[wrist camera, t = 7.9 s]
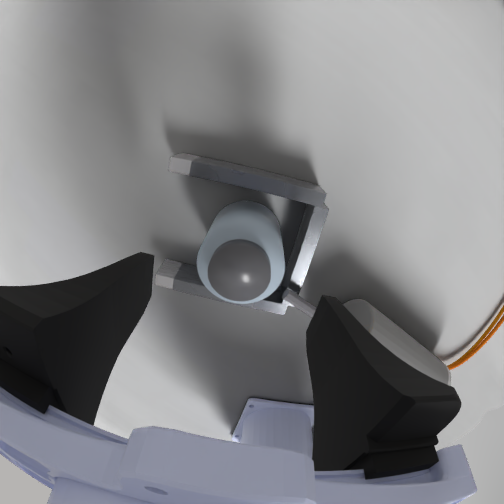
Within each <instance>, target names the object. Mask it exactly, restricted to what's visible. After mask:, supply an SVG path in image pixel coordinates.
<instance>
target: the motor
mask: <svg viewBox="0 0 504 504" xmlns="http://www.w3.org/2000/svg"><path fill="white" fill-rule="evenodd" d="M282 298H283V299H284V300H285V301H287V302H289V303H290V304H292V305H293V306H295V307H296V308H298V309H299V310H301V311H302V312H304V313H306V314H307V315H309V316H310V317H312V318H313V315H314V313H315V311H316V307H315V306H313V305H312V304H310V303H309V302H307V301H306V300H304V299H303V298H301V297H300V296H298V295H297V294H295V293H294V292H292V291H291V290H289V289H287V290H285V291H284V293H283V295H282ZM343 305H344V306H345V307H346V308H347V309H348V311H349V312H350V313H351V314H352V315H353V316H354V317H355V318H356V319H357V320H358V321H359V322H360V323H361V324H362V326H363V327H364V328H365V329H366V330H367V331H368V332H369V333H370V334H371V335H372V336H374V337H375V338H376V339H377V340H378V341H379V342H380V343H381V344H382V345H383V346H385V347H386V348H387V349H388V350H389V351H391V352H392V353H393V354H394V355H396V356H397V357H399V358H400V359H401V360H403V361H404V362H406V363H407V364H409V365H410V366H412V367H413V368H415V369H417V370H418V371H420V372H422V373H424V374H426V375H427V376H429V377H431V378H433V379H435V380H438V381H440V382H442V383H445V384H447V385H449V386H450V385H451V373H450V370H451V369H454V368H456V367H458V366H459V365H461V364H463V363H464V362H465V361H467V360H468V359H469V358H471V357H472V356H473V355H474V354H475V353H476V352H477V351H478V350H479V349H480V348H481V347H482V346H483V345H484V344H485V343H486V342H487V341H488V340H489V339H490V338H491V337H492V335H493V334H494V333H495V332H496V331H497V329H498V328H499V327H500V325H501V324H502V323H503V321H504V315H503V317H502V318H501V319H500V321H499V322H498V323H497V325H496V326H495V327H494V325H495V324H496V322H497V321H498V320H499V318H500V317H501V315H502V314H503V312H504V306H503V307H502V309H501V310H500V312H499V313H498V315H497V316H496V318H495V319H494V321H493V322H492V323H491V325H490V326H489V327H488V329H487V330H486V331H485V333H484V334H483V335H482V336H481V338H480V339H479V340H478V341H477V342H476V343H475V344H474V345H473V346H472V347H471V348H470V349H469V350H468V351H467V352H466V353H465V354H464V355H463V356H462V357H461V358H459V359H458V360H457V361H455V362H454V363H452V364H450V365H448V366H446V365H445V364H444V363H443V362H442V361H440V360H439V359H438V358H437V357H436V356H434V355H433V354H432V353H431V352H429V351H428V350H427V349H426V348H425V347H423V346H422V345H421V344H420V343H418V342H417V341H416V340H415V339H414V338H412V337H411V336H410V335H409V334H407V333H406V332H405V331H404V330H402V329H401V328H400V327H399V326H397V325H396V324H395V323H394V322H392V321H391V320H390V319H389V318H387V317H386V316H385V315H384V314H382V313H381V312H380V311H379V310H377V309H376V308H375V307H373V306H372V305H371V304H370V303H368V302H367V301H365V300H363V299H353V300H350V301H348V302H346V303H344V304H343ZM493 327H494V329H493V330H492V331H491V329H492V328H493ZM490 331H491V332H490ZM489 332H490V333H489ZM488 333H489V335H488V336H487V334H488ZM486 336H487V337H486ZM485 337H486V338H485ZM484 338H485V339H484ZM483 339H484V340H483ZM482 340H483V341H482Z"/></svg>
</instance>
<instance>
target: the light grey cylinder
mask: <svg viewBox="0 0 504 504" xmlns="http://www.w3.org/2000/svg"><path fill="white" fill-rule="evenodd" d="M197 270H198V274H199V277H200V279H201V281H202V282H203V284H204V285H205V287H206V288H207V289H208V290H209V291H210V292H211V293H212V294H214V295H215V296H217V297H219V298H220V299H223V300H225V301H228V302H231V303H237V304H248V303H254V302H257V301H260V300H263V299H264V298H266V297H268V296H269V295H271V294H272V293H273V292H274V291H275V290H276V289H277V288H278V286H279V285H280V283H281V281H282V279H283V276H284V272H285V260H284V252H283V244H282V236H281V229H280V225H279V222H278V220H277V218H276V216H275V215H274V214H273V212H272V211H271V210H269V209H268V208H267V207H265V206H264V205H262V204H260V203H257V202H253V201H238V202H234V203H231V204H229V205H227V206H226V207H224V208H223V209H222V210H221V211H220V212H219V213H218V215H217V216H216V218H215V220H214V222H213V223H212V225H211V227H210V229H209V231H208V233H207V235H206V237H205V239H204V241H203V243H202V245H201V247H200V249H199V252H198V256H197Z"/></svg>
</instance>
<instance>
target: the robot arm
mask: <svg viewBox="0 0 504 504" xmlns="http://www.w3.org/2000/svg"><path fill="white" fill-rule="evenodd" d="M153 264H154V255H150V254H146V253H143V252H140V253H137V254H134V255H132V256H130V257H127V258H125V259H123V260H120V261H118V262H116V263H114V264H111V265H109V266H107V267H104V268H101V269H99V270H96V271H94V272H91V273H88V274H85V275H82V276H79V277H75V278H72V279H68V280H64V281H58V282H53V283H48V284H41V285H32V286H0V454H1V455H2V456H4V457H5V458H7V459H8V460H9V461H10V462H12V463H13V464H15V465H16V466H17V467H19V468H20V469H22V470H23V471H24V472H26V473H27V474H29V475H30V476H32V477H33V478H35V479H37V480H38V481H39V482H41V483H43V484H44V485H46V486H48V487H49V488H51V489H52V492H51V494H50V497H49V500H48V502H47V504H457V503H459V502H461V501H462V500H464V499H466V498H467V497H469V496H471V495H472V494H474V493H475V492H476V491H477V487H476V484H475V482H474V478H473V475H472V472H471V469H470V467H469V464H468V461H467V458H466V455H465V453H464V450H463V448H462V445H460V444H459V445H455V446H451V447H446V448H443V449H441V450H439V451H437V452H436V450H435V447H434V445H437V444H438V438H437V436H436V435H437V434H438V433H439V432H440V431H441V430H443V429H444V428H445V427H446V426H447V425H448V424H449V423H450V422H451V421H452V420H453V419H454V418H455V416H456V415H457V414H458V412H459V410H460V408H461V400H460V398H459V396H458V394H457V392H456V390H455V389H454V387H452V386H449V385H447V384H445V383H442V382H440V381H438V380H435V379H433V378H431V377H429V376H427V375H426V374H424V373H422V372H420V371H418V370H417V369H415V368H413V367H412V366H410V365H409V364H407V363H406V362H404V361H403V360H401V359H400V358H399V357H397V356H396V355H394V354H393V353H392V352H391V351H389V350H388V349H387V348H386V347H385V346H383V345H382V344H381V343H380V342H379V341H378V340H377V339H376V338H375V337H374V336H372V335H371V334H370V333H369V332H368V331H367V330H366V329H365V328H364V327H363V326H362V324H361V323H360V322H359V321H358V320H357V319H356V318H355V317H354V316H353V315H352V314H351V313H350V312H349V311H348V309H347V308H346V307H345V306H344V305H343V304H342V303H341V302H340V301H339V300H338V299H336V298H335V297H330V296H325V295H322V297H321V299H320V301H319V304H318V306H317V308H316V311H315V313H314V315H313V318H312V320H311V322H310V324H309V327H308V329H307V331H306V347H307V357H308V364H309V370H310V376H311V383H312V389H313V398H314V406H313V405H303V404H293V403H285V402H277V401H270V400H263V399H257V398H250V399H248V401H247V403H246V406H245V408H244V410H243V412H242V415H241V417H240V419H239V422H238V424H237V426H236V428H235V431H234V433H233V435H232V440H233V441H237V442H240V443H237V442H231V441H225V440H220V439H214V438H209V437H204V436H200V435H195V434H191V433H187V432H183V431H179V430H175V429H168V428H162V427H156V426H149V427H142V428H137V429H133V431H132V433H131V435H130V437H129V439H126V438H123V437H121V436H118V435H115V434H113V433H110V432H107V431H105V430H102V429H100V428H97V427H95V426H93V425H94V421H95V418H96V414H97V411H98V408H99V404H100V401H101V398H102V395H103V392H104V390H105V387H106V384H107V382H108V379H109V376H110V374H111V371H112V369H113V367H114V364H115V362H116V360H117V357H118V355H119V354H120V352H121V350H122V348H123V346H124V345H125V343H126V341H127V340H128V338H129V337H130V335H131V333H132V332H133V330H134V328H135V327H136V325H137V323H138V322H139V320H140V319H141V317H142V315H143V314H144V311H145V309H146V307H147V305H148V302H149V300H150V298H151V293H152V277H153ZM313 425H314V439H312V429H311V428H312V427H313Z"/></svg>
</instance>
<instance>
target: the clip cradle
mask: <svg viewBox="0 0 504 504" xmlns="http://www.w3.org/2000/svg"><path fill="white" fill-rule="evenodd" d="M168 171H169V172H175V173H180V174H185V175H190V176H194V177H199V178H204V179H209V180H213V181H218V182H222V183H227V184H231V185H236V186H240V187H244V188H248V189H253V190H257V191H261V192H265V193H269V194H273V195H277V196H281V197H285V198H288V199H292V200H296V201H300V202H303V203H307V205H306V208H305V212H304V215H303V218H302V221H301V225H300V228H299V231H298V234H297V237H296V240H295V243H294V246H293V250H292V253H291V256H290V259H289V262H288V265H287V268H286V271H285V274H284V277H283V280H282V283H281V286H280V285H279V286H278V288H277V289H276V290H275V291H274V292H273V293H272V294H271V295H269V296H268V297H266V298H264V299H263V300H260V301H257V302H254V303H248V304H237V303H231V302H228V301H225V300H223V299H220V298H219V297H217V296H215V295H214V294H212V293H211V292H210V291H209V290H208V289H207V288H206V287H205V285H204V284H203V282H202V281H201V279H200V277H199V274H198V270H197V266H194V265H190V264H186V263H182V262H177V261H173V260H169V259H166V260H165V261H164V262H163V264H162V265H161V267H160V268H159V270H158V271H157V273H156V277H155V285H158V286H162V287H166V288H169V289H173V290H177V291H181V292H185V293H189V294H193V295H197V296H201V297H205V298H209V299H213V300H218V301H222V302H226V303H230V304H235V305H239V306H244V307H248V308H253V309H257V310H262V311H267V312H272V313H276V314H281V315H285V312H286V309H287V307H288V305H289V306H293V305H292V304H290V303H289V302H287V301H285V300H284V299H283V298H282V295H283V293H284V291H285V290H287V289H289V290H291V291H292V292H294V293H295V294H297V295H299V292H300V290H301V287H302V284H303V282H304V279H305V276H306V274H307V271H308V268H309V266H310V263H311V260H312V257H313V254H314V252H315V249H316V246H317V243H318V240H319V237H320V234H321V232H322V229H323V226H324V223H325V220H326V217H327V214H328V211H329V209H328V208H327V206H326V205H325V203H324V200H325V197H326V193H325V192H324V190H323V189H322V188H321V187H320V186H319V185H316V184H313V183H309V182H306V181H302V180H298V179H295V178H291V177H287V176H283V175H280V174H276V173H272V172H268V171H264V170H260V169H256V168H252V167H247V166H243V165H239V164H234V163H230V162H225V161H221V160H216V159H211V158H206V157H201V156H196V155H191V154H185V153H180V154H177V155H174V156H172V157H170V163H169V169H168Z"/></svg>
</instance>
